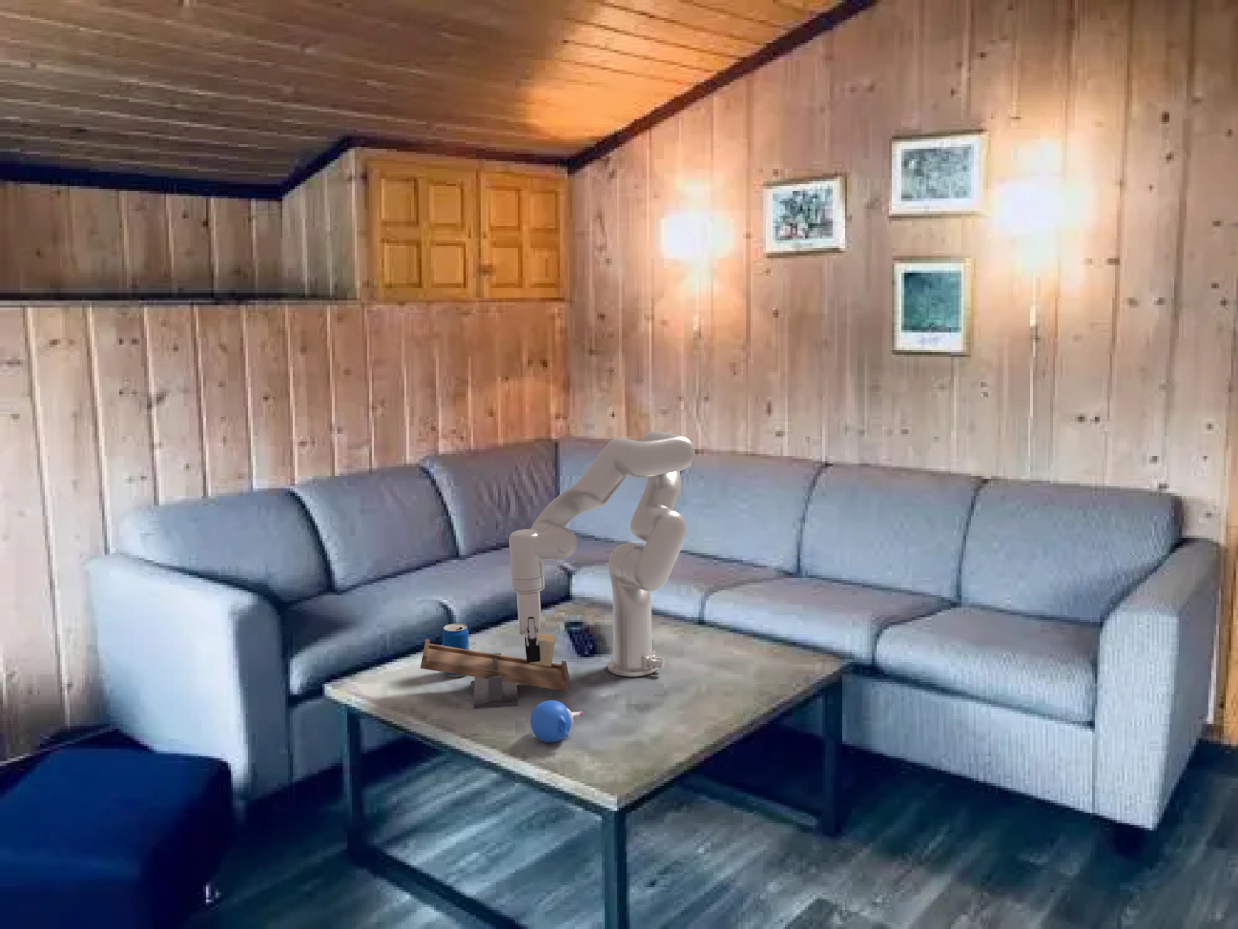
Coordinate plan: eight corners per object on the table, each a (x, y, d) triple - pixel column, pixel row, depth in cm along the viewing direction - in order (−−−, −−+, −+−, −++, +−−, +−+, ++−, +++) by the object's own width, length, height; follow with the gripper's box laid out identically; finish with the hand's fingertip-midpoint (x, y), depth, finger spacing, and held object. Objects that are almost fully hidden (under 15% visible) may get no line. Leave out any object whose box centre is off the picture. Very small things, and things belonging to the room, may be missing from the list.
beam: (563, 672, 256) (565, 660, 256) (567, 693, 244) (569, 679, 243) (423, 650, 251) (425, 638, 251) (419, 670, 238) (422, 656, 238)
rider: (549, 659, 252) (553, 635, 251) (550, 666, 247) (555, 642, 246) (529, 656, 251) (532, 632, 250) (529, 664, 246) (533, 639, 245)
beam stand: (516, 678, 258) (515, 651, 257) (518, 706, 240) (517, 677, 239) (474, 680, 257) (473, 653, 255) (473, 708, 239) (472, 680, 238)
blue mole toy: (597, 741, 220) (596, 703, 219) (547, 755, 214) (546, 716, 213) (569, 722, 231) (568, 685, 229) (520, 735, 224) (519, 697, 223)
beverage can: (465, 679, 257) (463, 631, 255) (439, 677, 259) (437, 630, 257) (473, 670, 264) (472, 623, 262) (449, 668, 265) (447, 622, 263)
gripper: (511, 574, 253) (516, 646, 256) (512, 595, 236) (518, 672, 240) (542, 571, 254) (547, 643, 257) (546, 592, 237) (551, 669, 241)
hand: (533, 656), depth 248 cm, fingers closed on rider, 5 cm apart
